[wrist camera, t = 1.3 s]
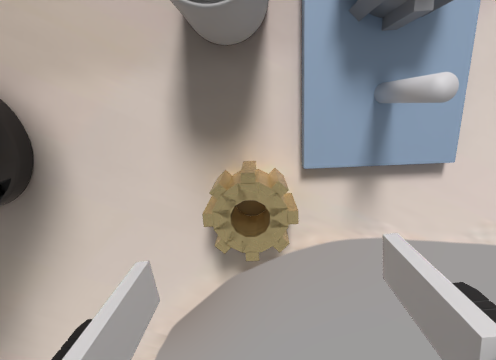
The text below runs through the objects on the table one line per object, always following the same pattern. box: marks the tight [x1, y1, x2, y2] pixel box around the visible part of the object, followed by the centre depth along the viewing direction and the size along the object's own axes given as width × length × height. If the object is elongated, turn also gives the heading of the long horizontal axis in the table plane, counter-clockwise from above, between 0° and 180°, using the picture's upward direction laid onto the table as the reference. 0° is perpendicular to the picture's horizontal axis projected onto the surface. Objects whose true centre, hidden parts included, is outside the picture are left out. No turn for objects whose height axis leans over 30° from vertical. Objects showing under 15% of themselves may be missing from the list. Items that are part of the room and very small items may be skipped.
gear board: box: [302, 0, 480, 169], centre depth 22 cm, size 16×26×10 cm, turn 3°
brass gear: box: [203, 161, 298, 261], centre depth 30 cm, size 10×10×6 cm
